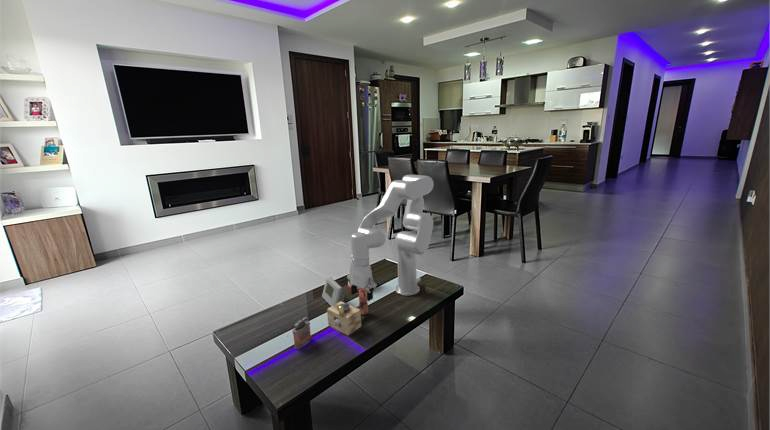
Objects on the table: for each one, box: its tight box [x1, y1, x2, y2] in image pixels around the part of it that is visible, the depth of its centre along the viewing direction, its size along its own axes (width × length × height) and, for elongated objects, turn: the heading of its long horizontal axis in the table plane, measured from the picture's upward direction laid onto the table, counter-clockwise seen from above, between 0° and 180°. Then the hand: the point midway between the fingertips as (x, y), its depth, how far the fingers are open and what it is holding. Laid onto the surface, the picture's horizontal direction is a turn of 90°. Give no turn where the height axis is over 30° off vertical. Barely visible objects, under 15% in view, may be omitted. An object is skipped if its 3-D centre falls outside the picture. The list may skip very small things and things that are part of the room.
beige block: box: [326, 301, 362, 336], centre depth 136 cm, size 8×12×8 cm, turn 51°
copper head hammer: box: [334, 288, 369, 326], centre depth 139 cm, size 19×4×12 cm, turn 141°
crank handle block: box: [337, 303, 350, 317], centre depth 132 cm, size 5×10×5 cm, turn 1°
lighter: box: [292, 316, 313, 350], centre depth 126 cm, size 8×3×10 cm, turn 148°
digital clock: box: [321, 276, 345, 307], centre depth 156 cm, size 16×9×11 cm, turn 21°
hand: (362, 296), depth 144 cm, fingers open, 9 cm apart
